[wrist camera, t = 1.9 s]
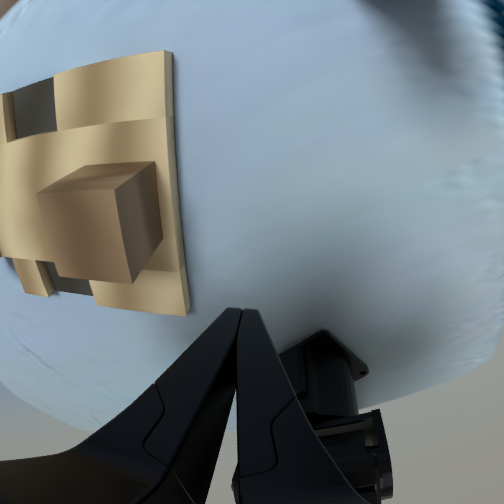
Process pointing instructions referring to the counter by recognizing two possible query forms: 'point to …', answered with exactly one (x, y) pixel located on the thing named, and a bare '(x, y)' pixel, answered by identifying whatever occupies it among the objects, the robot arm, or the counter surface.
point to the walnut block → (103, 221)
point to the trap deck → (91, 153)
